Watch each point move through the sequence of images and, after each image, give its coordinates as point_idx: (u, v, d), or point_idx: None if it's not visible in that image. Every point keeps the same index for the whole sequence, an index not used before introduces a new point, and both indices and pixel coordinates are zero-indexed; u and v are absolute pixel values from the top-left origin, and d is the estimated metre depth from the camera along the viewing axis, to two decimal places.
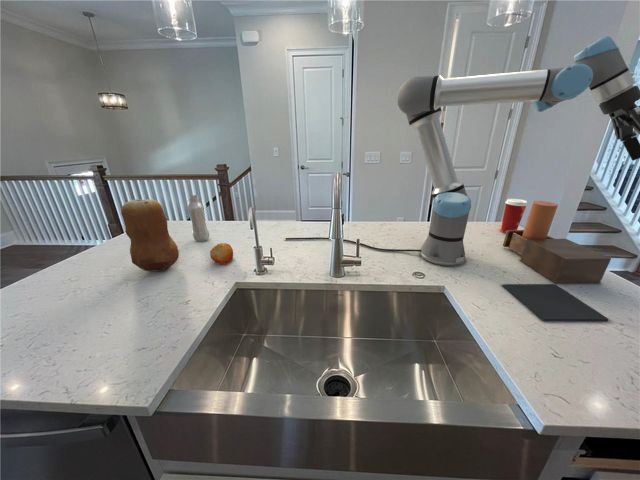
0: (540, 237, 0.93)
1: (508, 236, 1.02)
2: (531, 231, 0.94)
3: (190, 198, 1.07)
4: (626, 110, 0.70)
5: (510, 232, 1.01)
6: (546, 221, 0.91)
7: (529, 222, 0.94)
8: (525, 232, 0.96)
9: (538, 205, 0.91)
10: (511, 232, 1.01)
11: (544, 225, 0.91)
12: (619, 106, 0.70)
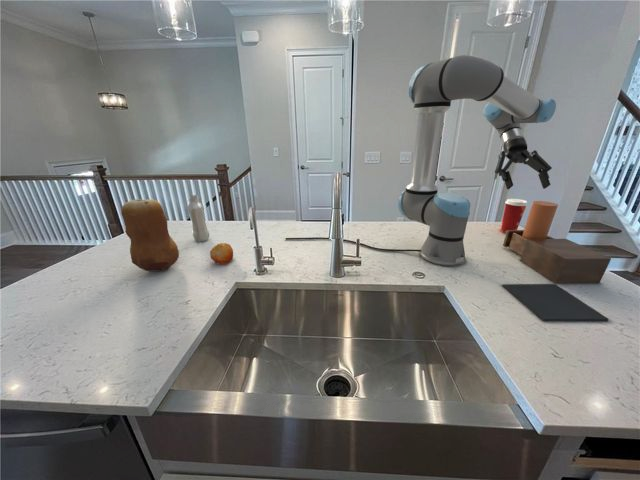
0: (540, 237, 0.93)
1: (508, 236, 1.02)
2: (531, 231, 0.94)
3: (190, 198, 1.07)
4: (527, 150, 1.04)
5: (510, 232, 1.01)
6: (546, 221, 0.91)
7: (529, 222, 0.94)
8: (525, 232, 0.96)
9: (538, 205, 0.91)
10: (511, 232, 1.01)
11: (544, 225, 0.91)
12: None
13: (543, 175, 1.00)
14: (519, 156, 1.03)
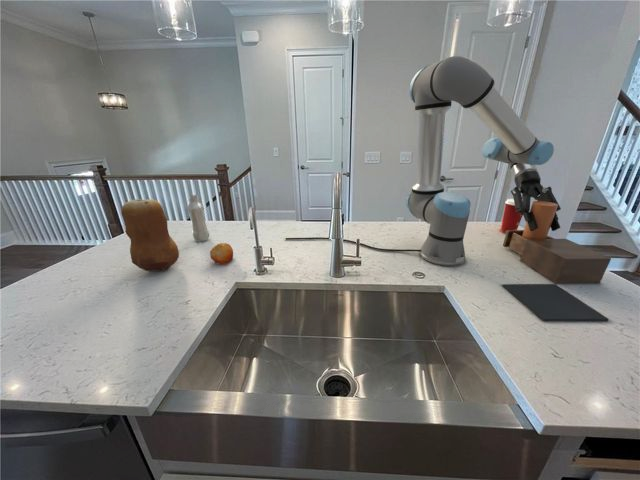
0: (540, 237, 0.93)
1: (508, 236, 1.02)
2: (531, 231, 0.94)
3: (190, 198, 1.07)
4: None
5: (510, 232, 1.01)
6: (546, 221, 0.91)
7: None
8: (525, 232, 0.96)
9: (538, 205, 0.91)
10: (511, 232, 1.01)
11: (544, 225, 0.91)
12: None
13: None
14: (532, 190, 0.96)
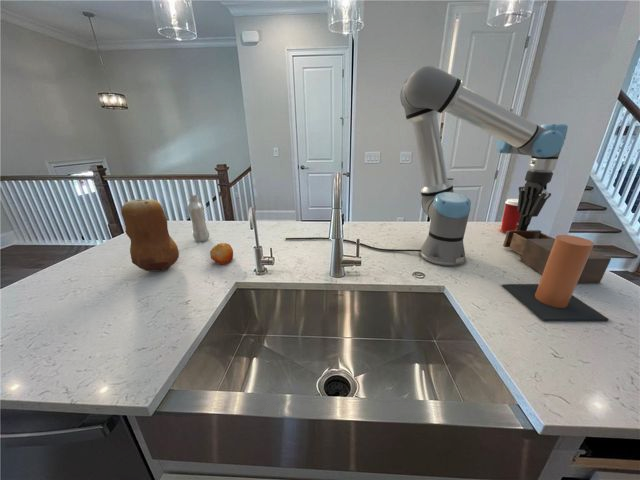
0: (558, 285, 0.67)
1: (508, 236, 1.02)
2: (547, 274, 0.69)
3: (190, 198, 1.07)
4: None
5: (510, 232, 1.01)
6: (567, 265, 0.64)
7: (547, 262, 0.69)
8: (542, 274, 0.71)
9: (558, 240, 0.65)
10: (511, 232, 1.01)
11: (564, 270, 0.65)
12: None
13: None
14: None
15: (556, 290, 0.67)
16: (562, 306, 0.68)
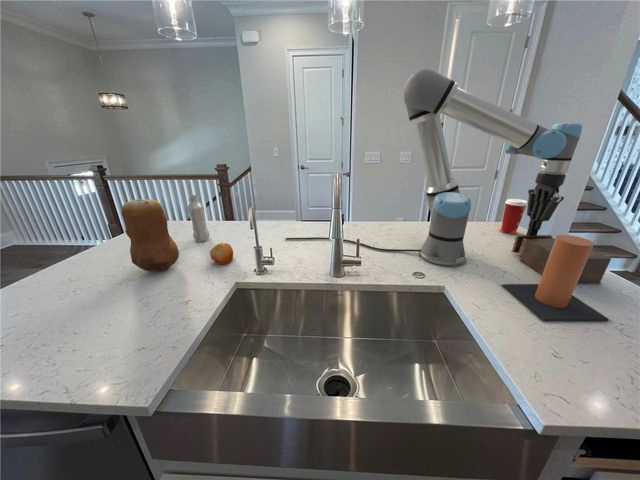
0: (558, 285, 0.67)
1: (518, 241, 0.97)
2: (547, 274, 0.69)
3: (190, 198, 1.07)
4: None
5: (520, 237, 0.96)
6: (567, 265, 0.64)
7: (547, 262, 0.69)
8: (542, 274, 0.71)
9: (558, 240, 0.65)
10: (521, 237, 0.96)
11: (564, 270, 0.65)
12: None
13: None
14: None
15: (556, 290, 0.67)
16: (562, 306, 0.68)
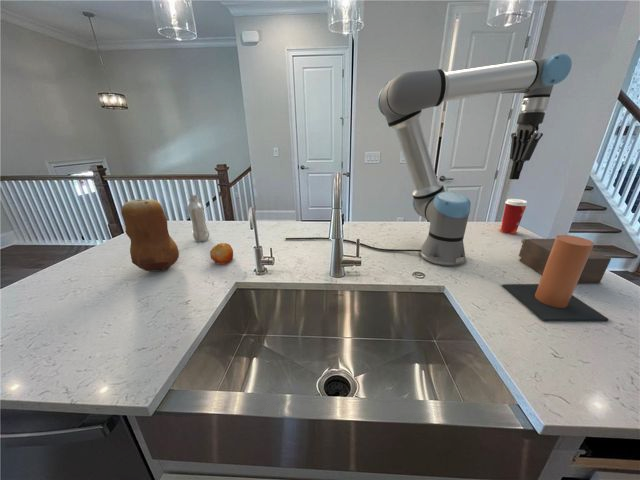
0: (558, 285, 0.67)
1: None
2: (547, 274, 0.69)
3: (190, 198, 1.07)
4: None
5: None
6: (567, 265, 0.64)
7: (547, 262, 0.69)
8: (542, 274, 0.71)
9: (558, 240, 0.65)
10: None
11: (564, 270, 0.65)
12: None
13: None
14: None
15: (556, 290, 0.67)
16: (562, 306, 0.68)
